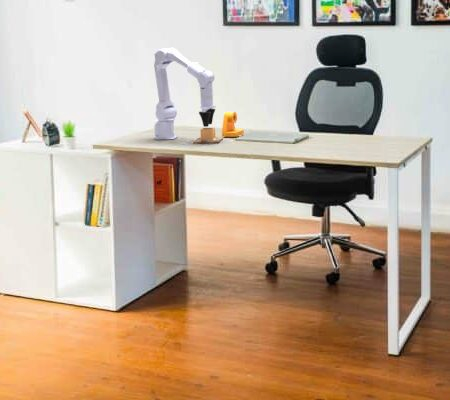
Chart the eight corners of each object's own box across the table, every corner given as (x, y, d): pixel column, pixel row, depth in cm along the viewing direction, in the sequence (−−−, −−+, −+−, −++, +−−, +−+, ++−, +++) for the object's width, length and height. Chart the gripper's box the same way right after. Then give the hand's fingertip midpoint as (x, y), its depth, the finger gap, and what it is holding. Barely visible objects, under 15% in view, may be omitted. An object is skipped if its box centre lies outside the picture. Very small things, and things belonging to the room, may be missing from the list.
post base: (193, 143, 445) (193, 141, 445) (199, 139, 456) (199, 137, 456) (218, 143, 442) (218, 141, 442) (223, 139, 454) (223, 137, 454)
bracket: (235, 138, 457) (234, 113, 454) (222, 137, 460) (221, 113, 457) (244, 134, 466) (243, 110, 463) (231, 134, 469) (230, 110, 466)
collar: (200, 140, 447) (200, 129, 446) (203, 138, 453) (203, 127, 451) (212, 140, 446) (212, 129, 445) (215, 138, 451) (214, 127, 450)
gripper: (211, 98, 437) (212, 127, 440) (218, 94, 451) (219, 123, 454) (196, 98, 438) (198, 127, 441) (203, 95, 452) (204, 123, 455)
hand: (207, 125), depth 448 cm, fingers open, 7 cm apart
